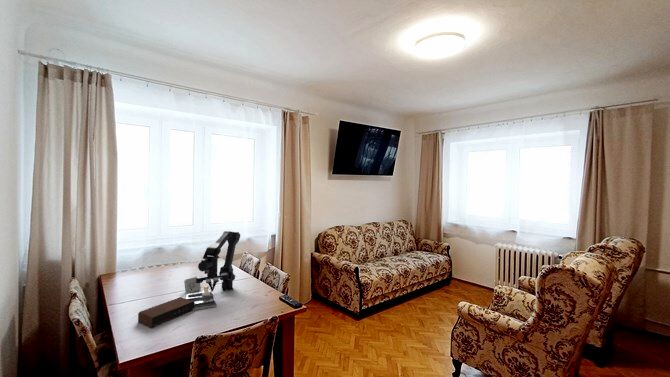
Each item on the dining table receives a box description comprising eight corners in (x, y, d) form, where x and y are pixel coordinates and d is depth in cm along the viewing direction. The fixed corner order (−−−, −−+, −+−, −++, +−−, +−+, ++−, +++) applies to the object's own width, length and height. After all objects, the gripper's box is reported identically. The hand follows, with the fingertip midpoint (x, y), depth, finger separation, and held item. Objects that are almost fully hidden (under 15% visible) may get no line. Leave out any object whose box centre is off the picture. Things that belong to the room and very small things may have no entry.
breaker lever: (209, 294, 180) (209, 284, 180) (210, 296, 176) (210, 286, 176) (202, 295, 178) (202, 285, 178) (202, 297, 174) (202, 288, 174)
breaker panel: (213, 293, 187) (213, 287, 187) (215, 303, 171) (215, 298, 171) (185, 297, 180) (185, 291, 180) (185, 308, 164) (185, 302, 164)
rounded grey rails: (216, 304, 170) (216, 302, 170) (216, 307, 167) (216, 305, 167) (184, 309, 163) (184, 307, 163) (184, 312, 159) (184, 310, 159)
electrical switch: (186, 294, 184) (186, 279, 185) (183, 293, 188) (182, 278, 188) (201, 290, 192) (200, 276, 192) (197, 289, 195) (197, 275, 195)
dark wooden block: (151, 329, 141) (151, 317, 141) (138, 323, 146) (138, 312, 146) (194, 311, 162) (194, 300, 162) (181, 306, 167) (181, 296, 167)
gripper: (226, 261, 190) (226, 285, 190) (195, 265, 181) (195, 289, 181) (228, 266, 180) (228, 290, 180) (196, 269, 171) (195, 295, 171)
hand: (212, 291), depth 178 cm, fingers closed
